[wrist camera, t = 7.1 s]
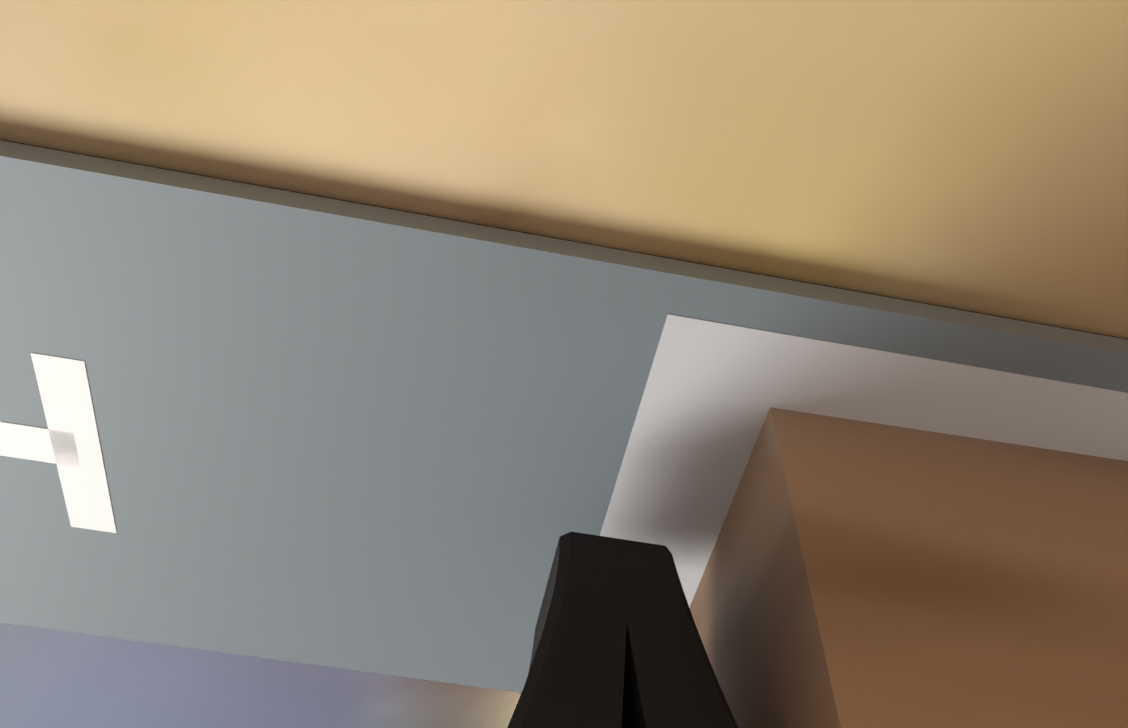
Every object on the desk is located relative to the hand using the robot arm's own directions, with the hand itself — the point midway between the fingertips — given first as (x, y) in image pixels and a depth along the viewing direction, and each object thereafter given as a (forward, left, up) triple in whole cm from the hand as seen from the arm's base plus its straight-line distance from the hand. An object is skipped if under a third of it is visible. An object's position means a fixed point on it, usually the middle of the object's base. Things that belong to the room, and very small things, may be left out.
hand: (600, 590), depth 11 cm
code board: (0, +2, -1) cm, 3 cm away
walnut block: (0, -4, -1) cm, 4 cm away
